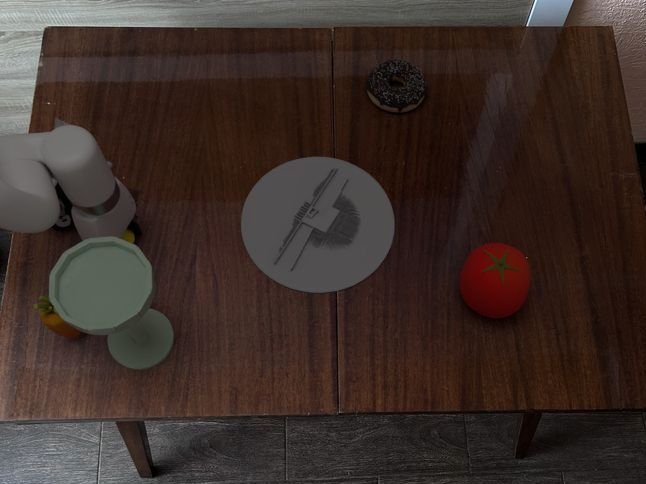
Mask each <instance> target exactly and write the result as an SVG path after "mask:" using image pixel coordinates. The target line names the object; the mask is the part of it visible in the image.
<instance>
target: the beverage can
mask: <svg viewBox="0 0 646 484" xmlns="http://www.w3.org/2000/svg"><path fill="white" fill-rule="evenodd" d="M52 181H53V184H54V187H55V190H56V194H57V197H58V201H59V205H60V214H59V218H58V220H57V222H56V223H55V224H54V225H53V226H52V227H51V228H50V229H52V230H55V231H58V232H66V231H69V230H72V229H73V228H76V226H75V224H74V221H73V217H72V212H71V210H72V207H73V205H72V204H71V202H70V200H69V199H68V197H67V196H66V194H65V193H64V191H63V190H62V188H61V186H60V185H59V183H58V182H57V181H56V180H55V179H52Z"/></svg>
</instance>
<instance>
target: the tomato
mask: <svg viewBox="0 0 646 484" xmlns="http://www.w3.org/2000/svg"><path fill="white" fill-rule="evenodd" d="M531 278H532V277H531V268H530V263H529V262H528V260H527V257H525V255H524V253H523V251H521V250H519V249H518V248H516V247H514V246H511V245H508V244H506V243H501V242H489V243H486V244H485V243H484V244H483V245H480V246H478V247H476V248H474V249H473V250H472V251H471V252H470V253H469V254H468V256H467V257H466V260H465V261H464V264H463V266H462V269H461V272H460V276H459V289H460V294H461V297H462V299H463V301H464V302H465V303H466V305H467V306H468V307H469V309H471V310H473V311H474V312H476V313H478V315H479V314H480V315H482V316H484V317H487V318H490V319H502V318H507V317H509V316H511V315H513V314H514V313H516V312H517V311H519V310H520V309H521V308H522V307H523V305H524V303H525V302H526V300H527V298H528V294H529V292H530V289H531Z"/></svg>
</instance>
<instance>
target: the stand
mask: <svg viewBox="0 0 646 484" xmlns="http://www.w3.org/2000/svg"><path fill="white" fill-rule="evenodd" d="M174 343H175V331H174V328H173V324H172V323H171V322H170V320H169V319H168V317H167V316H166V315H165V314H163V313H162V312H161V311H160V310H159V311H158V310H157V309H154V308H149V309H148V311H147V312H146V314H145V315H144V316H143V317H142V318H141V319H140V320H139V321H138V322H137V323H135V324H134V325H132V326H131V327H129V328H127V329H125V330H123V331H120V332H117V333H114V334H108V335H107V348H108V352H109V353H110V355H111V356H112V358H113V360H115V362H117V363H118V364H119V365H120V366H122V367H124V368H126V369H129V370H133V371H144V370H145V371H146V370H149V369H152V368H155V367H156V366H158V365H160V364H161V363H163V362H164V361H165V360H166V359H167V358H168V357H169V355H170V353H171V352H172V350H173V347H174V345H175V344H174Z"/></svg>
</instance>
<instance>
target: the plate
mask: <svg viewBox="0 0 646 484" xmlns="http://www.w3.org/2000/svg"><path fill="white" fill-rule="evenodd" d="M395 223H396V222H395V214H394V210H393V207H392V203H391V201H390V199H389V197H388V194H387V193H386V191H385V190H384V189H383V187H382V186H381V184H380V183H379V182H378V181H377V180H376V179H375V178H374V177H373V176H372V175H370V173H368V172H367V171H365V170H364V169H362V168H360V167H359V166H357V165H355V164H353V163H352V162H351V163H350V162H349V161H345V160H342V159H339V158H334V157H329V156H328V157H327V156H308V157H301V158H297V159H293V160H290V161H289V160H288V161H286V162H284V163H282V164H279V165H278V166H276V167H274V168H272V169H271V170H270V171H268V172H267V173H265V174H264V175H263V176H262V177H261V178H260V179H259V180H258V181H257V182H256V183H255V184H254V186H253V187H252V189H251V190H250V192H249V193H248V195H247V197H246V199H245V201H244V204H243V208H242V211H241V217H240V231H241V236H242V241H243V244H244V248H245V250H246V252H247V254H248V256H249V257H250V259H251V260H252V262H253V263H254V265H255V266H256V268H257V269H259V270H260V271H261V272H262V273H263V275H265V276H266V277H268V278H269V279H270V280H272V281H274V282H275V283H277V284H279V285H280V286H282V287H285V288H287V289H290V290H294V291H297V292H301V293H306V294H307V293H308V294H329V293H335V292H339V291H342V290H346V289H349V288H351V287H354V286H356V285H358V284H360V283H361V282H364V281H365V280H366V279H367V278H369V277H370V276H371V275H372V274H373V273H375V272H376V271H377V270H378V269H379V267H380V266H381V265H382V264H383V262H384V260H385V259H386V258H387V256H388V254H389V252H390V250H391V248H392V245H393V242H394V241H393V240H394V235H395V225H396V224H395Z"/></svg>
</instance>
